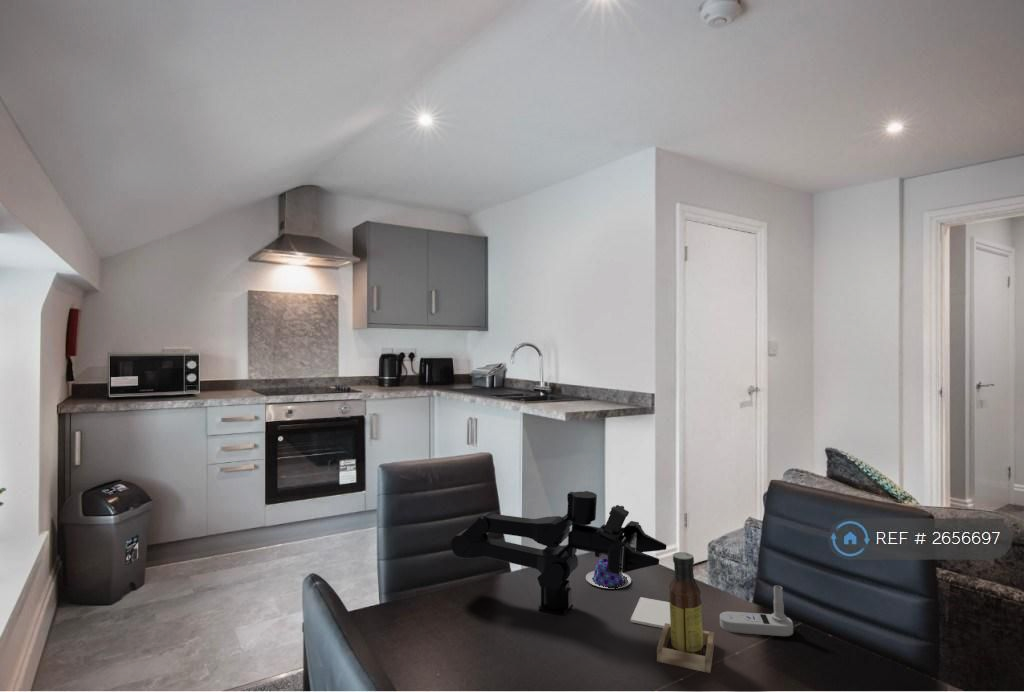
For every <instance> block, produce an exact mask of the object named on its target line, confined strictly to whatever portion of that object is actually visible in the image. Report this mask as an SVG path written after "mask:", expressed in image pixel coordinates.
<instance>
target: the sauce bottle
mask: <svg viewBox="0 0 1024 692" xmlns="http://www.w3.org/2000/svg"><path fill="white" fill-rule="evenodd" d="M672 561H673V567H674V573H673V576H674V577H673V578H672V580H671V581H670V583H669V586H668V587H669V602H670V622H671V638H670V640H671V641H670V642H671V647H672V648H671V649H673V650H678V651H683V652H687V653H692V654H697V655H702V656H703V655H704V648H703V647H704V645H703V631H704V630H703V611H702V610H703V609H702V598H701V590H700V587H699V586H698V584H697V581H696V579H695V574H694V563H695V559H694V555H693V554H691V553H689V552H684V551H681V552H680V551H678V552H675V553H673V554H672Z"/></svg>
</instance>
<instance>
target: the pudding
mask: <svg viewBox="0 0 1024 692" xmlns="http://www.w3.org/2000/svg"><path fill="white" fill-rule="evenodd" d="M607 560H608V557H605V558H600V559H599V560H598V561H596V564H595V565H596V566H595V569H594V570H593V571H590V572H588V573H587V574H586V575H585V580H586V581H587V582H588V583H589V584H590V585H593V586H596V587H598V588H602V589H609V588H608V587H605V586H609V587H612V586H617V585H619V584H622V583H623V582H624V579H623V576H625V577H627V580H628V583H627V584H626V585H625V586H622V587H618V586H617V587H618V588H617V589H621V588H625V587H627V586H629V585H630V584H631V583H632V578H631V577H630V575H628V574H626V573H622V572H621V574H620V575H615V574H611V573H610V572H609V570H608V569H607ZM622 575H623V576H622ZM592 578H593V579H592ZM595 583H596V584H595ZM598 584H600V586H599V585H598ZM623 584H624V583H623ZM623 584H622V585H623ZM602 585H603V586H604V587H603V586H602ZM619 586H620V585H619ZM610 589H614V588H610Z"/></svg>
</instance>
